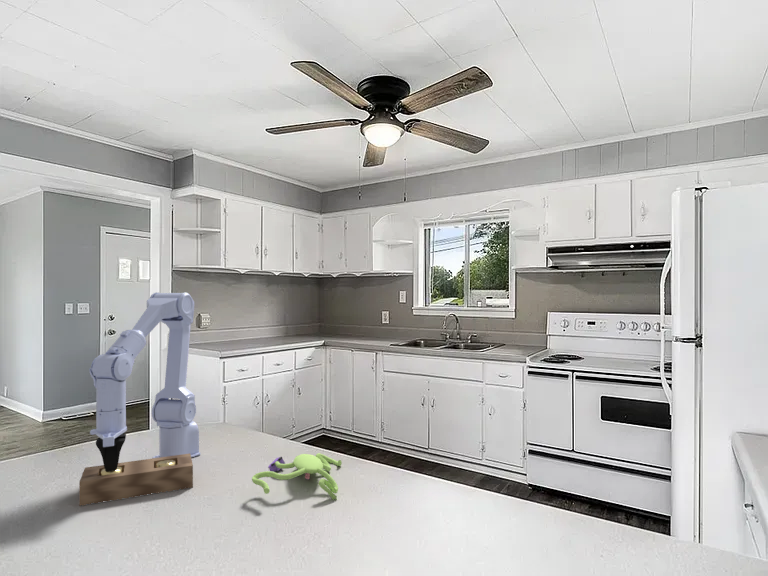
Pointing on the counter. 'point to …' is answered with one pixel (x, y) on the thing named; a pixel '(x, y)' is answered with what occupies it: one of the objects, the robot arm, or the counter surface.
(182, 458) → the block
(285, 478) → the figurine
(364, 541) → the counter surface
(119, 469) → the peg
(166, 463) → the peg
